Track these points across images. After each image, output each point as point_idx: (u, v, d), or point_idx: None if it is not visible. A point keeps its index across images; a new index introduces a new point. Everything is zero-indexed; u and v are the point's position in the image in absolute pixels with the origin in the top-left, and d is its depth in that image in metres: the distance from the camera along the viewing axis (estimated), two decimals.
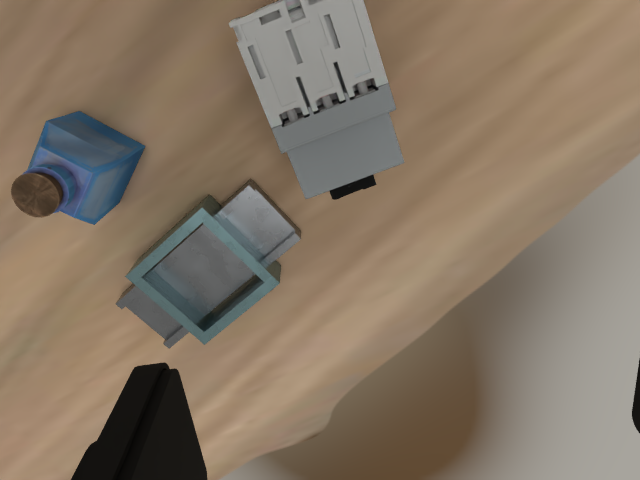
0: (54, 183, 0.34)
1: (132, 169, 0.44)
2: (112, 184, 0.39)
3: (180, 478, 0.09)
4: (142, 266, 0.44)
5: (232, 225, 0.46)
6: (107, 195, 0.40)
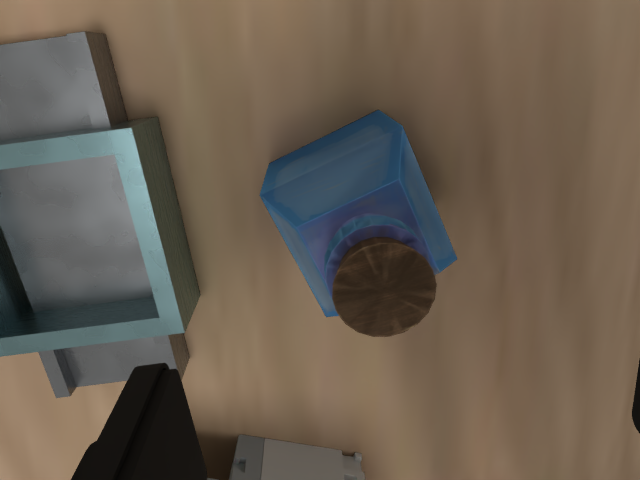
0: (377, 328, 0.15)
1: None
2: (303, 274, 0.21)
3: (180, 478, 0.09)
4: (135, 173, 0.21)
5: None
6: (292, 254, 0.20)
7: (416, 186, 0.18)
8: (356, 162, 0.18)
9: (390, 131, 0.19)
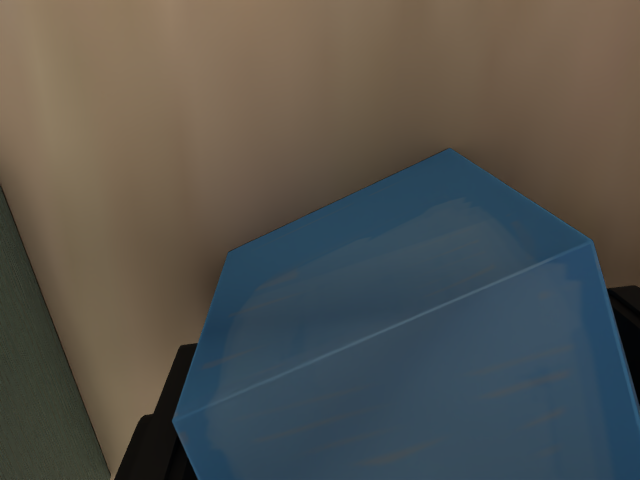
0: None
1: None
2: None
3: None
4: None
5: None
6: None
7: None
8: (460, 361, 0.06)
9: (553, 254, 0.06)
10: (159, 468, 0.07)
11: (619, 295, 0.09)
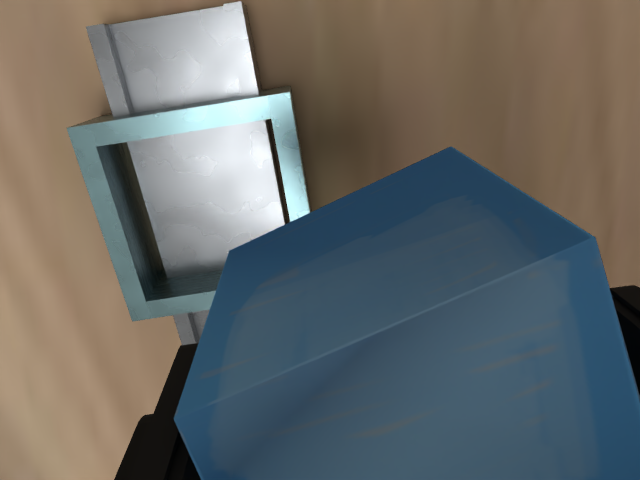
0: None
1: None
2: None
3: None
4: (289, 137, 0.22)
5: None
6: None
7: None
8: (461, 358, 0.06)
9: (556, 251, 0.06)
10: (159, 468, 0.07)
11: (619, 295, 0.09)
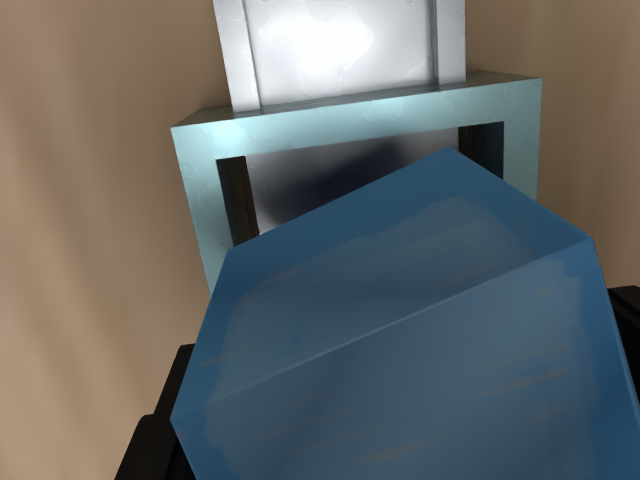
0: None
1: None
2: None
3: None
4: (526, 151, 0.14)
5: None
6: None
7: None
8: (458, 359, 0.06)
9: (552, 251, 0.06)
10: (159, 468, 0.07)
11: (619, 295, 0.09)
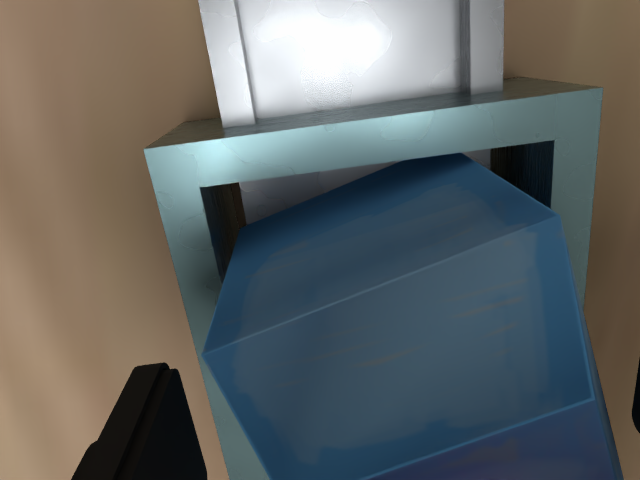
0: None
1: None
2: None
3: (180, 478, 0.09)
4: (580, 176, 0.11)
5: None
6: None
7: (594, 374, 0.07)
8: (446, 307, 0.07)
9: (527, 226, 0.08)
10: None
11: None
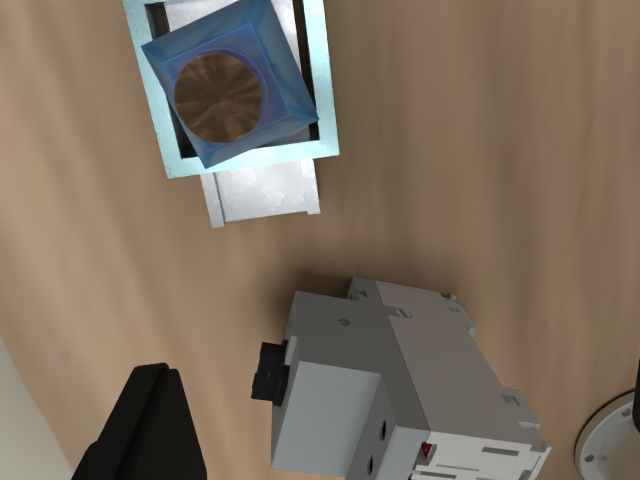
0: (218, 139, 0.18)
1: None
2: (183, 127, 0.23)
3: (180, 478, 0.09)
4: (316, 2, 0.25)
5: None
6: (172, 106, 0.23)
7: (274, 39, 0.21)
8: (222, 15, 0.21)
9: None
10: None
11: None
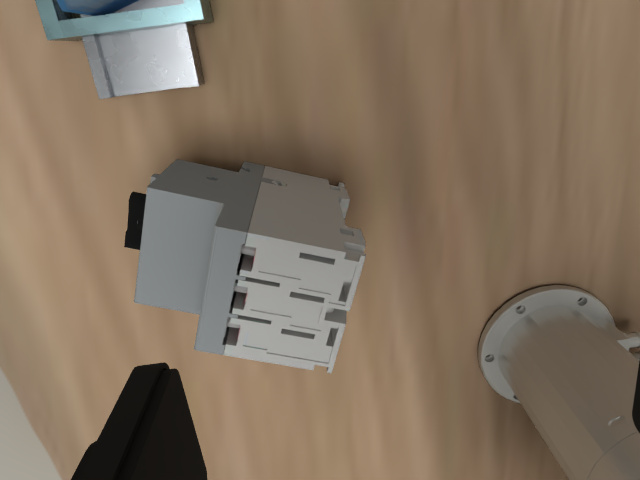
0: None
1: None
2: None
3: (180, 478, 0.09)
4: None
5: (160, 27, 0.33)
6: None
7: None
8: None
9: None
10: None
11: None
